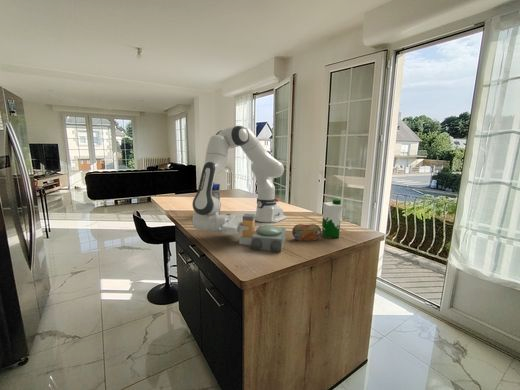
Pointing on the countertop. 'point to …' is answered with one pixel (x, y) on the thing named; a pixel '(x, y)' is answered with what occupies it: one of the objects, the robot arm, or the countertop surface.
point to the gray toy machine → (266, 238)
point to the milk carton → (331, 218)
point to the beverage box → (216, 191)
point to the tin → (306, 232)
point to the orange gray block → (248, 221)
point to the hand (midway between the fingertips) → (250, 226)
